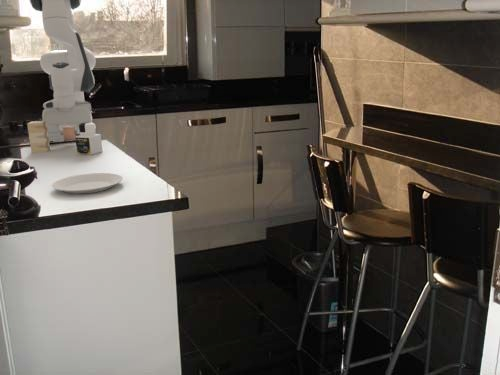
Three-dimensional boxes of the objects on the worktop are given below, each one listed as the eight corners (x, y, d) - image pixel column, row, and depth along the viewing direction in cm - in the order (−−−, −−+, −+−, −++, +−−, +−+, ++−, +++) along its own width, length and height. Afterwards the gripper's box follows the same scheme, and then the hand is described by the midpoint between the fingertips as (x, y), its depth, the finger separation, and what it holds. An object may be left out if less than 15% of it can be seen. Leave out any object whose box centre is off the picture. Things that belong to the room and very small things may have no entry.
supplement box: (68, 139, 268) (64, 111, 265) (61, 142, 261) (57, 113, 258) (52, 139, 269) (48, 112, 266) (45, 142, 262) (41, 114, 259)
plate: (67, 202, 165) (66, 194, 165) (43, 188, 182) (42, 181, 181) (134, 188, 177) (134, 181, 176) (107, 176, 193) (106, 169, 193)
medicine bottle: (76, 154, 232) (73, 124, 229) (89, 150, 238) (86, 121, 235) (90, 155, 229) (87, 124, 226) (103, 151, 235) (99, 121, 232)
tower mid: (34, 140, 245) (32, 131, 244) (48, 139, 245) (47, 130, 244) (30, 143, 239) (28, 133, 238) (45, 142, 239) (43, 132, 238)
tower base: (35, 150, 246) (34, 140, 245) (50, 149, 246) (48, 139, 245) (31, 152, 240) (30, 143, 239) (46, 151, 240) (45, 142, 239)
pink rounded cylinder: (65, 138, 254) (64, 126, 253) (77, 137, 255) (75, 125, 253) (62, 140, 250) (61, 128, 248) (74, 139, 250) (73, 128, 249)
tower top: (32, 131, 243) (31, 121, 242) (47, 130, 244) (46, 120, 243) (28, 133, 238) (27, 123, 237) (43, 132, 238) (42, 122, 237)
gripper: (91, 99, 252) (95, 131, 255) (42, 102, 250) (47, 134, 254) (89, 101, 246) (92, 134, 249) (39, 104, 244) (43, 137, 248)
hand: (69, 134), depth 252 cm, fingers closed on pink rounded cylinder, 5 cm apart
